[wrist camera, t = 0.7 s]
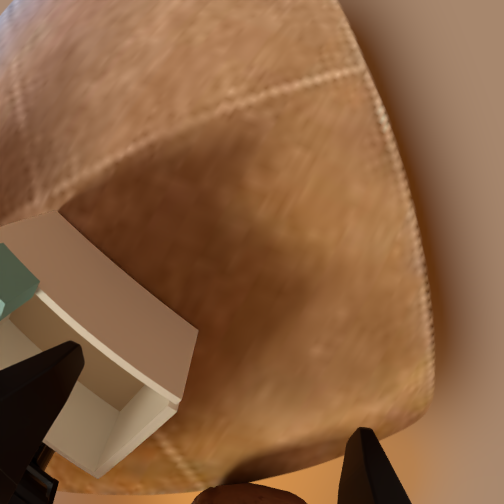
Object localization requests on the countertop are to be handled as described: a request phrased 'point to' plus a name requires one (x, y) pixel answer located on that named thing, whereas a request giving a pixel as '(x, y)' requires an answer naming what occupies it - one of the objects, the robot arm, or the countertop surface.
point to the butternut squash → (246, 495)
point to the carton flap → (95, 300)
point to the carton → (86, 393)
